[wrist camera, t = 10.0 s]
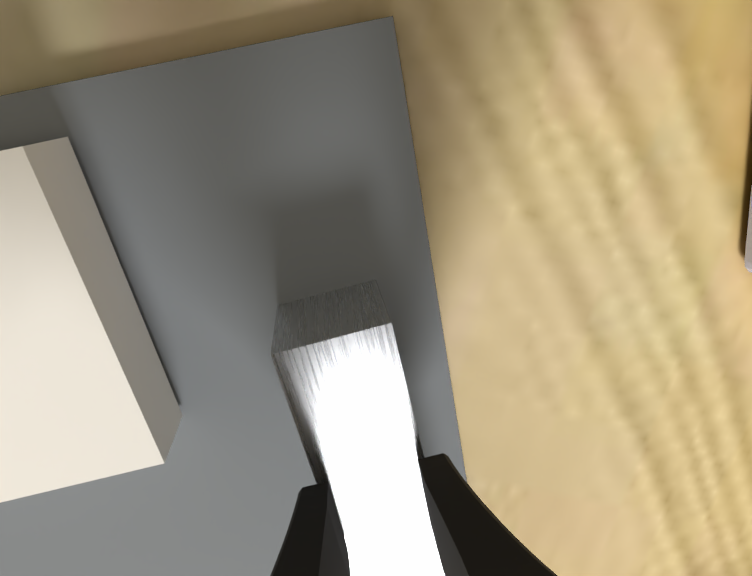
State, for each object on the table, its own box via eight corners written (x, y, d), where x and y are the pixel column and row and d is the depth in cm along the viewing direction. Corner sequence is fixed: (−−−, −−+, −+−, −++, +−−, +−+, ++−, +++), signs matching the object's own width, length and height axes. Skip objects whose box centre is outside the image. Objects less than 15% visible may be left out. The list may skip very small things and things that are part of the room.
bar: (277, 305, 13) (376, 279, 13) (383, 621, 17) (455, 601, 17) (270, 354, 10) (391, 322, 10) (395, 705, 15) (478, 681, 15)
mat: (390, 18, 11) (393, 15, 10) (475, 550, 17) (479, 560, 17) (-394, 178, 10) (-421, 181, 10) (-10, 673, 16) (-17, 687, 16)
